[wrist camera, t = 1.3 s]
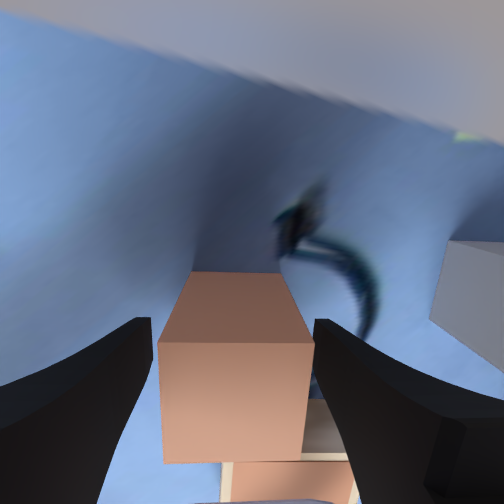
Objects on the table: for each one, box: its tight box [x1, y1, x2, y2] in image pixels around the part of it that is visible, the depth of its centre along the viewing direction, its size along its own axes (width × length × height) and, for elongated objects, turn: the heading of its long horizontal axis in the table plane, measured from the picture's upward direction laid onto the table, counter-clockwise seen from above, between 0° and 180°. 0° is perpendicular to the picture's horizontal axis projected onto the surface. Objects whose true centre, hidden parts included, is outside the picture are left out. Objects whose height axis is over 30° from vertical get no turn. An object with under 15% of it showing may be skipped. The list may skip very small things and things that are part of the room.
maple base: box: [219, 399, 359, 504], centre depth 15 cm, size 7×7×4 cm
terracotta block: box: [157, 271, 315, 464], centre depth 11 cm, size 4×4×6 cm
